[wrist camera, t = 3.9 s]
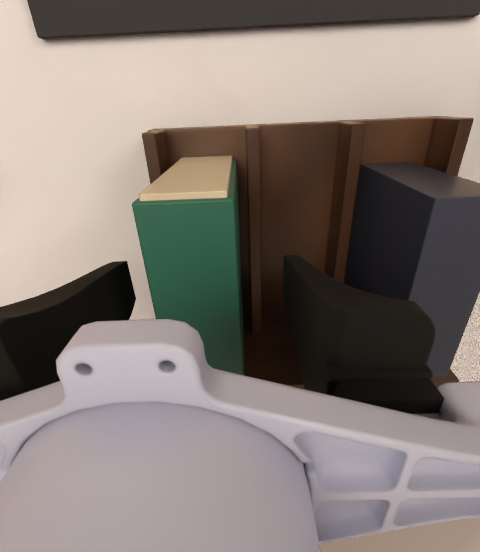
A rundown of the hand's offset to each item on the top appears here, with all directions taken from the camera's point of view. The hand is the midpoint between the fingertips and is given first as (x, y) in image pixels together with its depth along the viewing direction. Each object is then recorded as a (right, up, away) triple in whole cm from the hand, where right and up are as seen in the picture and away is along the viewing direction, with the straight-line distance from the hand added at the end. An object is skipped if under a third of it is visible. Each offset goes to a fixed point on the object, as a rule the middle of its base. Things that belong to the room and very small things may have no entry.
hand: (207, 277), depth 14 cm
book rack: (+5, +3, +5) cm, 7 cm away
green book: (0, +2, +4) cm, 4 cm away
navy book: (+9, +2, +4) cm, 10 cm away
